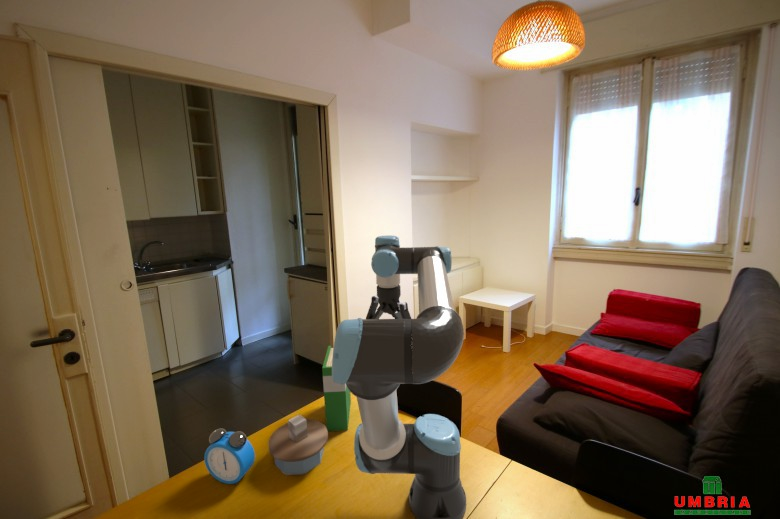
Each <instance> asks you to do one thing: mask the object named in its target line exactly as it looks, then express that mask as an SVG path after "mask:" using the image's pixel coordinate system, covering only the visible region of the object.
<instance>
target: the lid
mask: <svg viewBox="0 0 780 519" xmlns="http://www.w3.org/2000/svg"><path fill="white" fill-rule="evenodd" d="M328 440H329V431H327V428H326V424H323V423H322V422H321V421H318V420H315V419H311V418H309V419H308V418H307V419H306V418H305V417H304V416H302V415H301V414H298V415H296V416H293V417H292V418H290V419H289V420H287V423H285V424H282V425H281V426H280V427H277V429H275V431H274V432H272V433H271V435H270V437H269V440H268V451H269V453H270V455H271V456H272V457H273V459H274V458H276V459H278V460H281V461H285V462H296V461H301V460H305V459H307V458H310V457H312V456H314V455H315V454H317V453H318V452H319V451H321V450H322V449H323V448H325V446H326V445H327V442H328Z"/></svg>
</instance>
